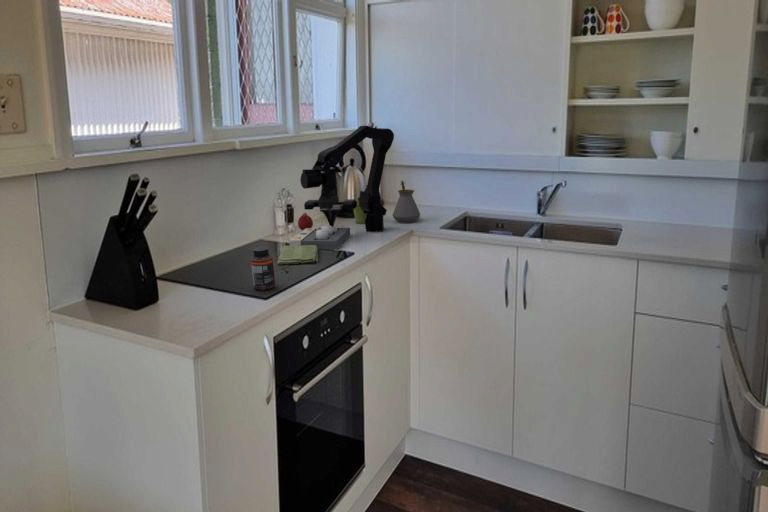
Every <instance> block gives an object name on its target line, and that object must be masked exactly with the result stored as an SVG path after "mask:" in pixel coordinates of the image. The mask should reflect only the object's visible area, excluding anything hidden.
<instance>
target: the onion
mask: <svg viewBox="0 0 768 512" xmlns="http://www.w3.org/2000/svg"><path fill="white" fill-rule="evenodd" d="M297 226H298V228H299V230H300V231H301V232H302V231H303V230H304V229H306V228H313V226H314V222H313V219H312V217H311V216H310V215H308V213H307V212H303V213H302V215H301V216H300V217H299V218H298V220H297Z"/></svg>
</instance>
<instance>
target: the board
mask: <svg viewBox="0 0 768 512" xmlns="http://www.w3.org/2000/svg"><path fill="white" fill-rule="evenodd" d="M317 230H321V227H318V228H316V231H317ZM316 231H314V232H313V233H312V234H311V235H309V236H308V237H307V238H306V239H304V240H303V241H302V243H303V245H316V246H317V248H318V249H337V248H338V247H339V246H340V247H341V246H342V245H343V244H344V242H346V241H347V239H349V237H351V227H337V231H333V235H332V236H328V240H316ZM341 244H342V245H341ZM340 247H339V248H340ZM339 248H338V249H339ZM338 249H337V250H338Z"/></svg>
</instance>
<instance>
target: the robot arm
mask: <svg viewBox="0 0 768 512" xmlns="http://www.w3.org/2000/svg"><path fill="white" fill-rule="evenodd" d="M365 139H370V140H371V145H372V148H373V154H372V157H371V158H372V159H371V163H370V169H369V174H368V179H367V184H366V188H365V189H364V191H363V190H360V192H359V198H358V199H357V200H356V199H349V198H348V199H345V200H343V201H339V199H340V198H339V191H338V190H339V187H338V176H337V175H338V174H339V173H342V172H343V171H342V169H340V167H338V164H339V163H340V162H341V161H342V160H343V158H344V156H345V155H346V153H349V152H350V150H352V149H353V148H355V147H356V146H357V145H359V144H360V143H361V142H363V141H364V140H365ZM394 140H395V133H394V132H393V130H391V129H390V128H381V127H380V128H379V127H377V128H376V127H372V126H370V125H360V126H359V127H358V128H356V129H355V130H354V131H352V133H350V134H349V135H347V136H346V137H345V138H344V139H342V140H340V142H338V143H337V144H335V145H334V146H330V147H327V148H326V149H323V150H322V151H319V152H318V154H317V160H316V161H315V163H314V165H313V166H312V168H311V169H306V168H305V169H302V173H301V176H300V179H299V181H300V185H301V187H302V188H303V189H304V190H306V189H312V188H313V189H315V188H319V187H321V189H320V196H319V198H318V199H308V200H307V201H305V202H304V205H303V207H304V210H305V211H306V210H309V211H310V210H312V211H313V210H314V208H319V212H321V213H323V214H324V216H325V217H326V219H327V222H328V225H331V226H332V227H333V226H335V222H336V220H337V219H336V218H337V216H338V213H339V212H340V211H341V210H343V209H344V210H353V209H354V208H356V207H357V202H356V201H359V206H360V207H361V209H362V210H363V212H364V214H367V215H366V219H365V224H364V226H365V227H364V229H365V232H383V231H384V230H385V229H386V228H385V226H384V225H385V224H384V216H386V214H387V211H388V210H387V209H386V208H385V207H384V206H383V205H382V197H381V193H380V187H381V181H382V178H383V171H384V166H385V161H386V156H387V154H388V151H389V150H390V148H391V147H392V145H393V142H394ZM337 173H338V174H337Z"/></svg>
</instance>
